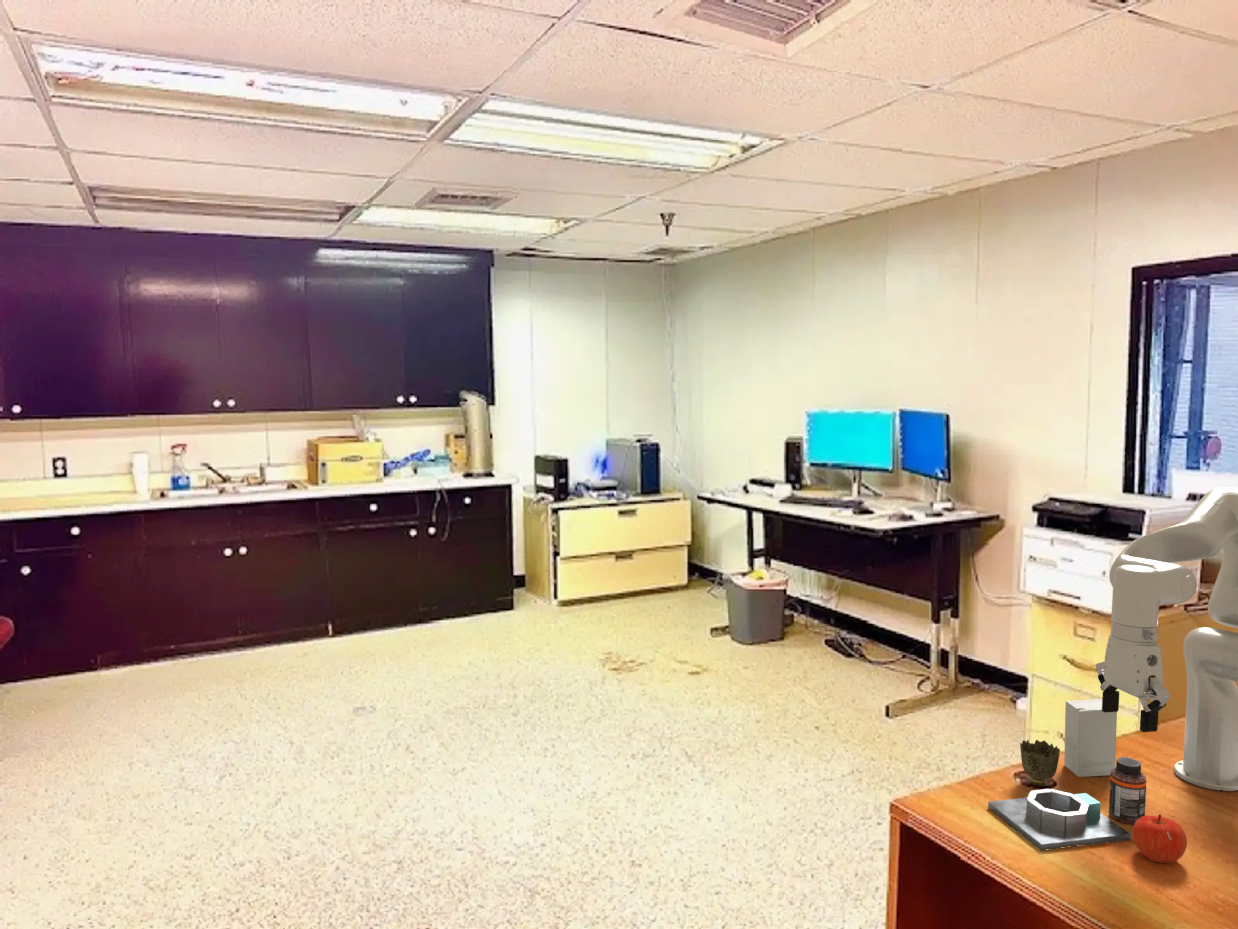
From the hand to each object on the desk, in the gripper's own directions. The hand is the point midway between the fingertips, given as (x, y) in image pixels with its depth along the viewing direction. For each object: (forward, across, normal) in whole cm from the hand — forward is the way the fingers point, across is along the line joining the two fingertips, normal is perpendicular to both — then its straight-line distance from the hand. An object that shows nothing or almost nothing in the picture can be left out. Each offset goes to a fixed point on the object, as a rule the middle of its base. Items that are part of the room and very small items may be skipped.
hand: (1128, 721), depth 164 cm
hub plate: (+19, +1, +13) cm, 24 cm away
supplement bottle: (+19, 0, -1) cm, 19 cm away
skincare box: (+19, +19, -8) cm, 28 cm away
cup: (+19, +16, +6) cm, 26 cm away
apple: (+20, -13, +4) cm, 24 cm away
